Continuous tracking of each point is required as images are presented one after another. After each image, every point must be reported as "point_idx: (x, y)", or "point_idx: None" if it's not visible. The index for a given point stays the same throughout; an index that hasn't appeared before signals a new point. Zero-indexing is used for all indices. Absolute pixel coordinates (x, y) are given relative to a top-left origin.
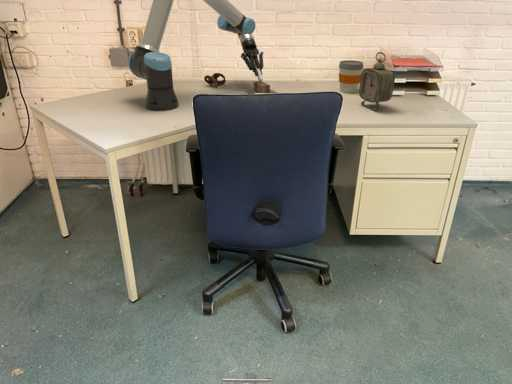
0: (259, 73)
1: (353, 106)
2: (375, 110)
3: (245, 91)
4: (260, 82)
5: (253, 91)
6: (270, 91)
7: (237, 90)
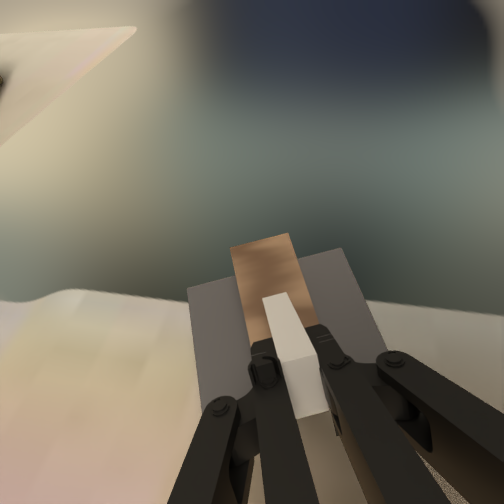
0: (287, 320)
1: (17, 114)
2: (2, 79)
3: None
4: None
5: None
6: (218, 328)
7: None
